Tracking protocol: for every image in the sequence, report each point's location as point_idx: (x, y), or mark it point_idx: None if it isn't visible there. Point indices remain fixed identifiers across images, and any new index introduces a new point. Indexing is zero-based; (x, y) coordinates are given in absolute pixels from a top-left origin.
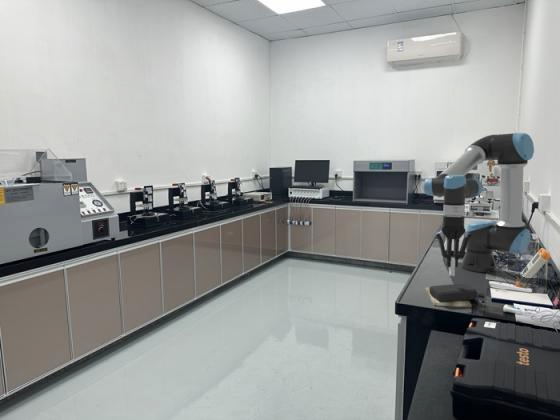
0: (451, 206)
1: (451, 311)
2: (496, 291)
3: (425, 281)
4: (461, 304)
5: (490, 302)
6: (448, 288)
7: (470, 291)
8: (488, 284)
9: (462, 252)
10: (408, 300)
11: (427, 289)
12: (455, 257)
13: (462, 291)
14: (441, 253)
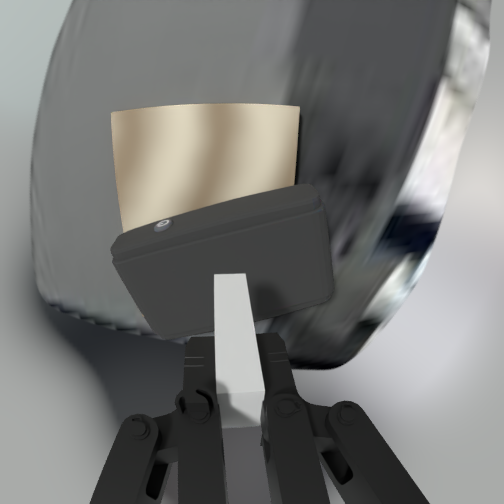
0: None
1: None
2: (446, 127)
3: None
4: None
5: (369, 251)
6: (200, 294)
7: (300, 308)
8: (448, 42)
9: (343, 477)
10: (56, 272)
11: (115, 151)
12: (265, 443)
13: (261, 317)
14: (115, 440)
